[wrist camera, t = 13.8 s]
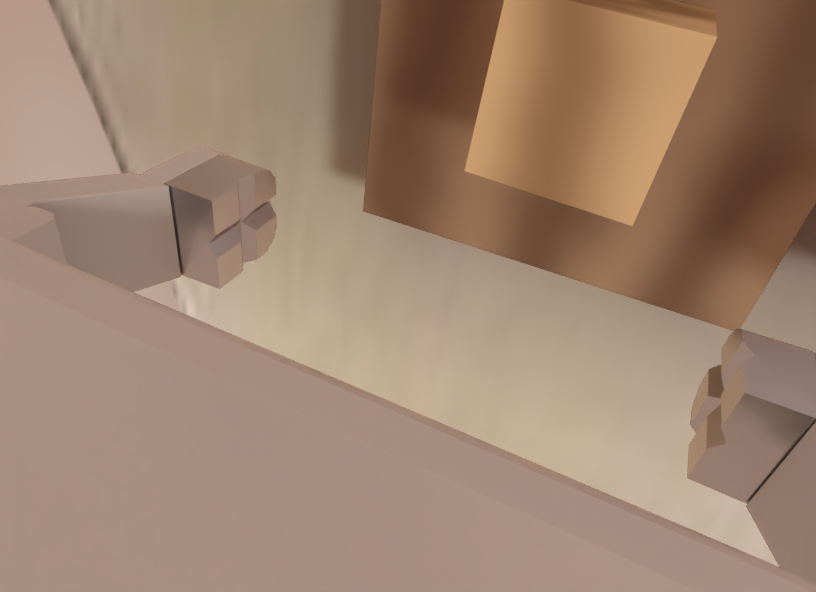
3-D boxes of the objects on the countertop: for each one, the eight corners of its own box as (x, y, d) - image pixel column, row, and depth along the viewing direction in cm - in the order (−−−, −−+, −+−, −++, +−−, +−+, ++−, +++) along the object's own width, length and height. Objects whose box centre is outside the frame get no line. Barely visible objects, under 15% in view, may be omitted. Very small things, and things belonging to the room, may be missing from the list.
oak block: (716, 10, 20) (717, 37, 16) (644, 172, 23) (632, 226, 20) (543, -31, 21) (507, -15, 17) (502, 129, 25) (464, 170, 21)
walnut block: (1006, -198, 18) (1068, -218, 15) (734, 285, 28) (737, 332, 25) (446, -255, 22) (405, -279, 19) (395, 182, 33) (363, 211, 30)
